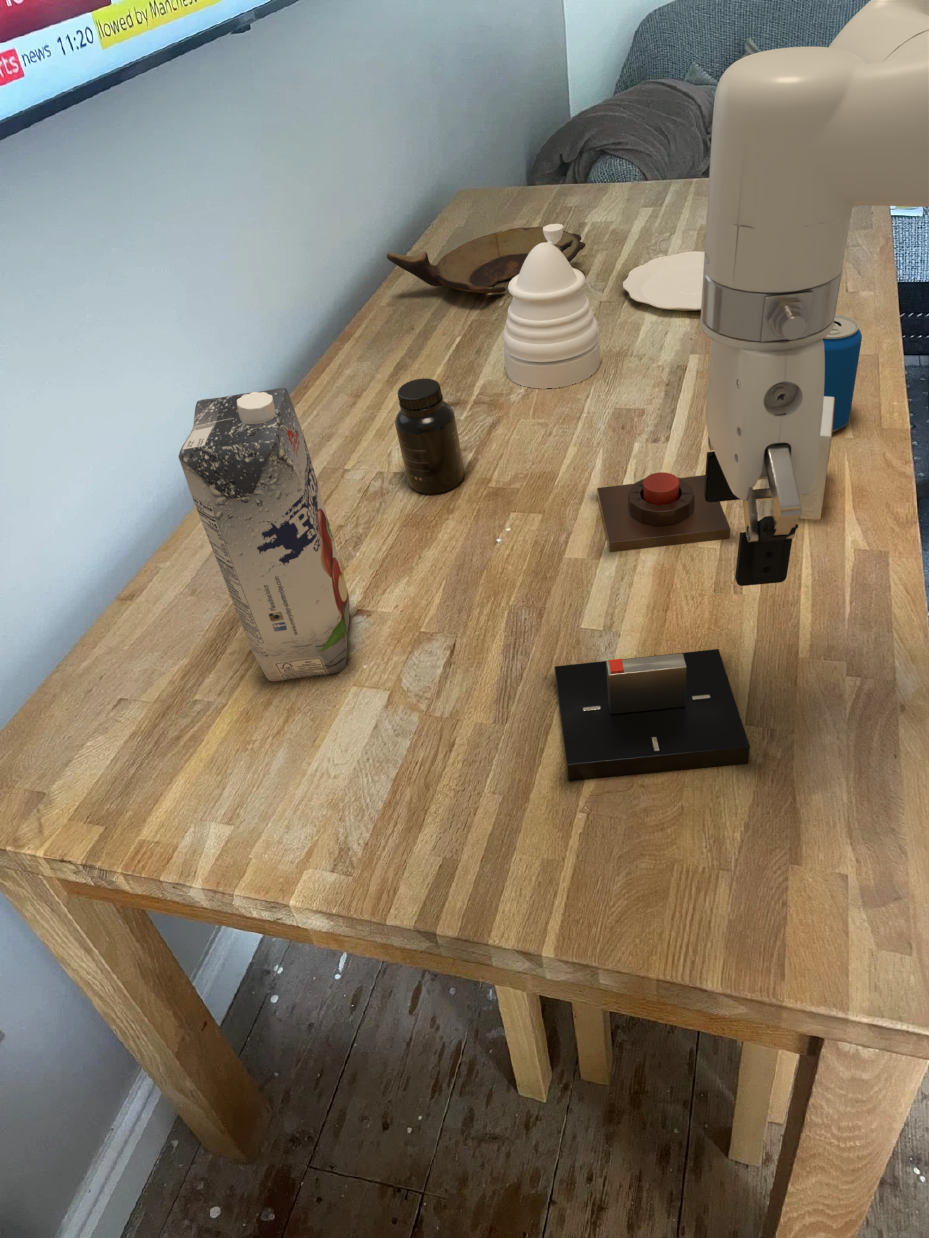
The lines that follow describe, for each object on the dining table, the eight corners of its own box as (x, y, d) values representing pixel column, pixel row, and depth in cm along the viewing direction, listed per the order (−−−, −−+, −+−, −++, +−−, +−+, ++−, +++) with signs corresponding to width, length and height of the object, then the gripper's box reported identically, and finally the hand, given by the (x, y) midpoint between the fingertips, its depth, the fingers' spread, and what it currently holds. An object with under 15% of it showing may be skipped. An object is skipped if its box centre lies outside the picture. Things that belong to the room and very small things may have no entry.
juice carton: (260, 697, 87) (160, 445, 70) (272, 622, 95) (184, 380, 77) (354, 684, 87) (277, 427, 69) (358, 611, 95) (290, 364, 77)
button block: (708, 491, 102) (709, 459, 99) (729, 546, 95) (731, 513, 92) (597, 504, 103) (596, 473, 100) (609, 560, 95) (608, 528, 93)
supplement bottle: (430, 459, 115) (414, 368, 107) (476, 471, 111) (462, 379, 103) (396, 488, 111) (376, 396, 103) (442, 501, 107) (425, 408, 100)
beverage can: (842, 407, 111) (856, 310, 103) (853, 436, 106) (869, 336, 98) (785, 411, 112) (795, 315, 104) (794, 439, 107) (805, 341, 99)
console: (717, 673, 82) (718, 647, 80) (747, 772, 73) (750, 745, 71) (556, 690, 83) (554, 664, 81) (569, 789, 74) (566, 763, 72)
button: (675, 484, 98) (675, 470, 96) (682, 503, 95) (682, 489, 94) (640, 488, 98) (640, 474, 97) (646, 508, 95) (646, 493, 94)
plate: (609, 317, 138) (608, 306, 137) (641, 261, 152) (641, 250, 151) (756, 321, 131) (757, 309, 130) (775, 262, 145) (776, 251, 144)
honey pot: (549, 337, 136) (538, 208, 124) (619, 358, 128) (616, 223, 116) (487, 373, 130) (470, 242, 118) (557, 398, 122) (546, 260, 110)
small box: (819, 528, 95) (832, 437, 88) (761, 523, 97) (770, 434, 90) (824, 484, 100) (836, 395, 93) (769, 480, 102) (777, 392, 95)
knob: (681, 692, 76) (682, 650, 73) (685, 706, 75) (686, 664, 72) (607, 700, 77) (605, 658, 74) (610, 714, 76) (608, 672, 73)
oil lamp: (570, 311, 141) (567, 260, 136) (385, 313, 150) (375, 265, 145) (596, 253, 157) (594, 206, 152) (427, 258, 166) (420, 213, 161)
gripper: (888, 359, 48) (836, 613, 59) (791, 239, 61) (764, 466, 72) (738, 374, 48) (715, 624, 59) (674, 252, 61) (665, 476, 72)
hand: (742, 537), depth 65 cm, fingers open, 9 cm apart
